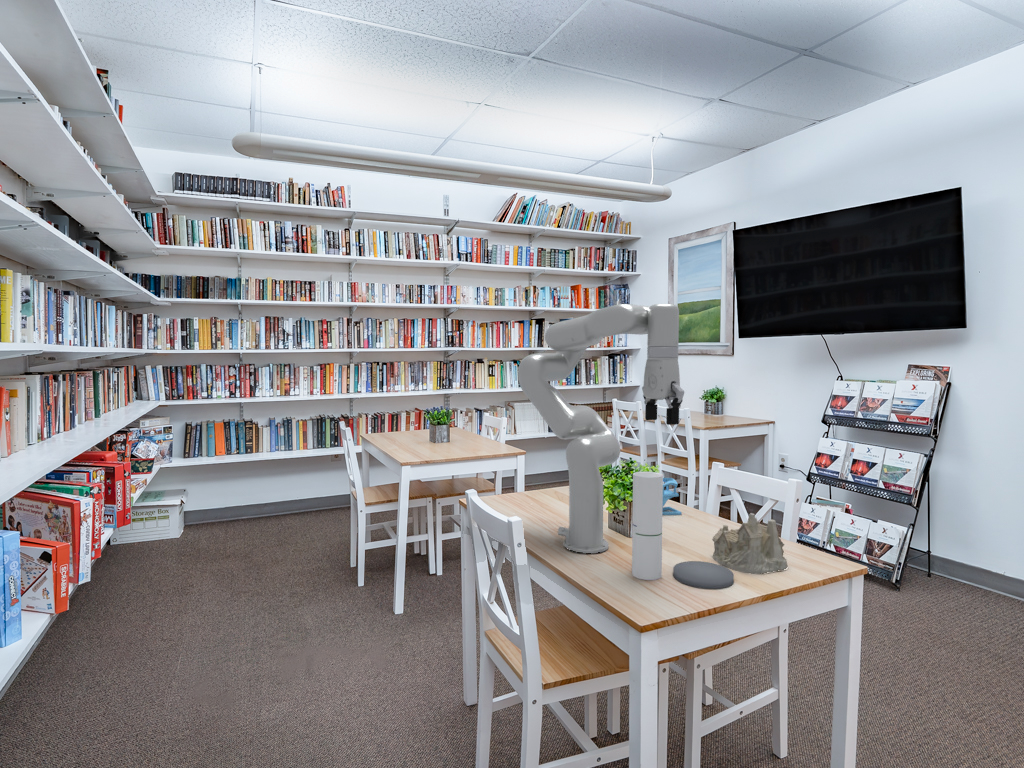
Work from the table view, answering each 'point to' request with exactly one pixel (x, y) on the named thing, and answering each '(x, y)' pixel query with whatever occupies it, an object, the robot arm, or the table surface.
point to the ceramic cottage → (750, 547)
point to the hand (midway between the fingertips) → (661, 422)
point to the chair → (669, 496)
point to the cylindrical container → (647, 525)
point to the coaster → (703, 575)
